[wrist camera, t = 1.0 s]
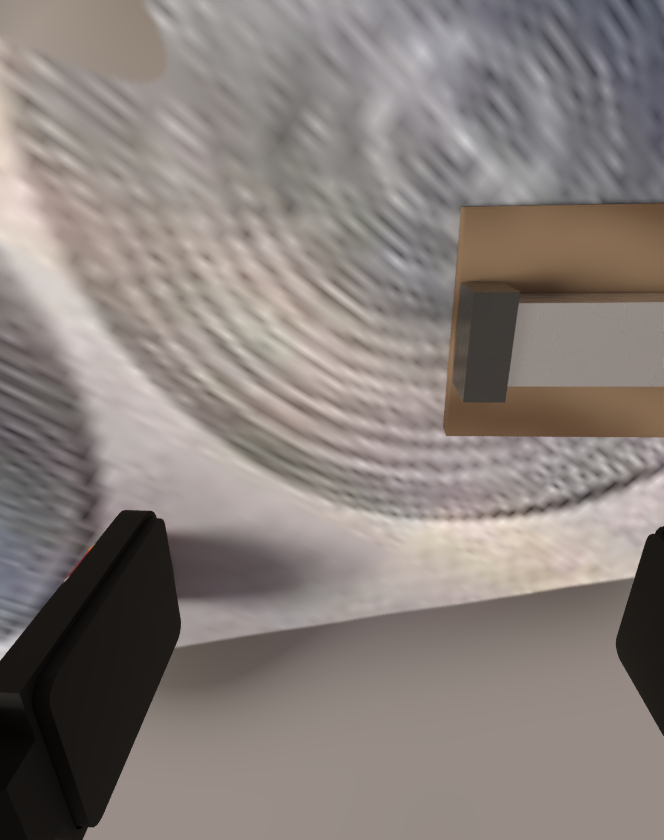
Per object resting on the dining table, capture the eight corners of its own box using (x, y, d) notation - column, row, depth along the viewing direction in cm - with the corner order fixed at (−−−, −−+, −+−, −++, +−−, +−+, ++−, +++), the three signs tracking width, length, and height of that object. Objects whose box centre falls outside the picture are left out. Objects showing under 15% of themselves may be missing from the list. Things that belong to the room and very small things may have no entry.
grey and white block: (460, 281, 24) (473, 292, 22) (735, 279, 24) (784, 289, 21) (452, 381, 26) (462, 402, 24) (703, 381, 26) (744, 403, 23)
